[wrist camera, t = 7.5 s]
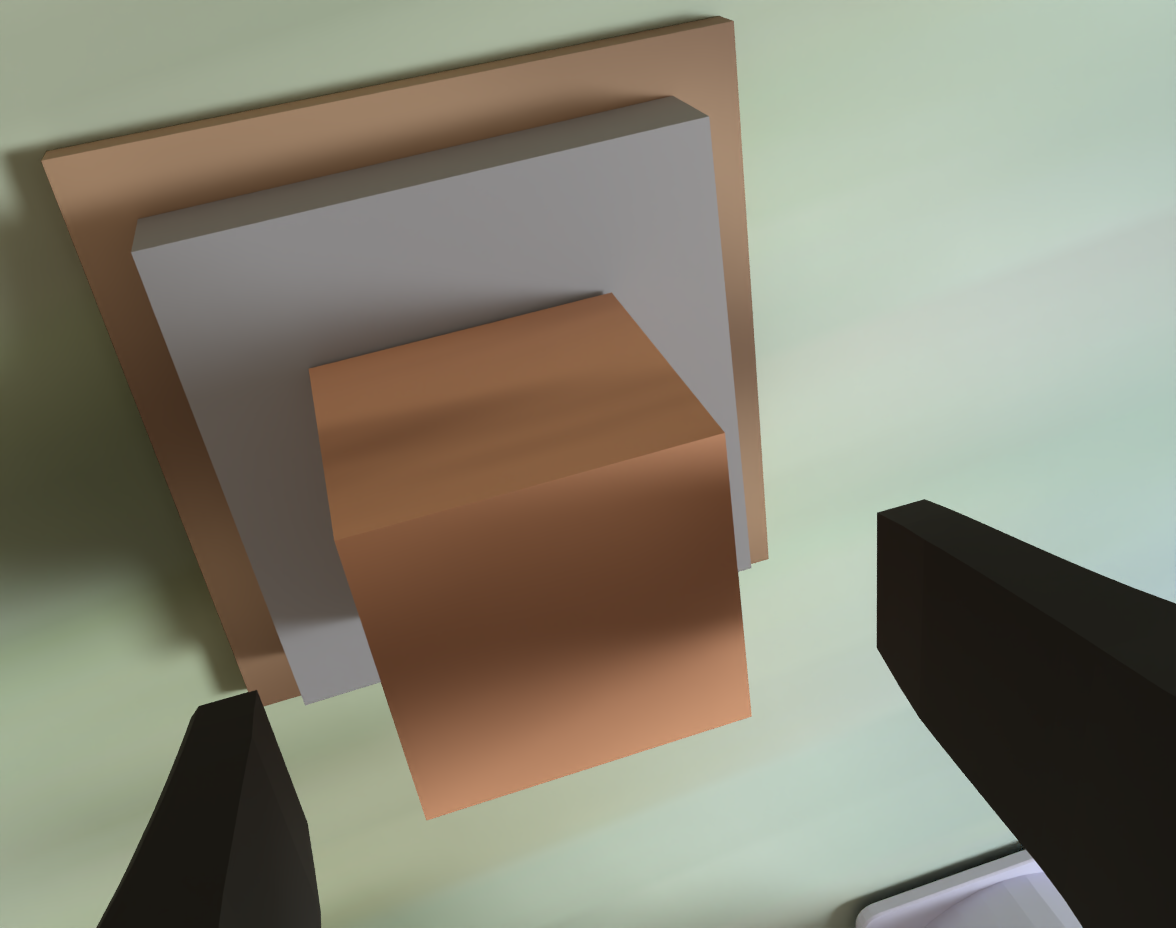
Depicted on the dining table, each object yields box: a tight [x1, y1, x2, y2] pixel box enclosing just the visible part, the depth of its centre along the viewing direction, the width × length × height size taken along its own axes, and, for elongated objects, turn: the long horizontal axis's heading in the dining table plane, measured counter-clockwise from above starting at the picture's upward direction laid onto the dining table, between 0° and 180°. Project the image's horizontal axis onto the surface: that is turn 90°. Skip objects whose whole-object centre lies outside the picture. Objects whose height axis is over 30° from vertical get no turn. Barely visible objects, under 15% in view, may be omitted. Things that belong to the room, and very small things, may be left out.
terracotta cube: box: [309, 292, 751, 820], centre depth 15 cm, size 4×4×4 cm
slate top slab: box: [131, 96, 751, 705], centre depth 18 cm, size 8×8×2 cm
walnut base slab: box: [41, 16, 768, 706], centre depth 19 cm, size 10×10×2 cm
